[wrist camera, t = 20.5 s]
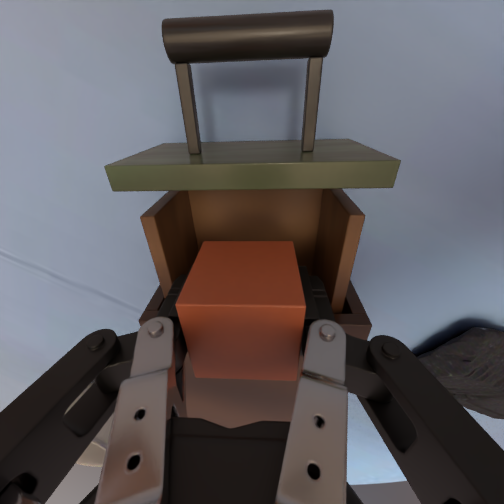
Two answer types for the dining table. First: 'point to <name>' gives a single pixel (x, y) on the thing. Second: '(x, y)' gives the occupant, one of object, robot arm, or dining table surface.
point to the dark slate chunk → (472, 369)
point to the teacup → (95, 442)
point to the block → (243, 311)
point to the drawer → (254, 161)
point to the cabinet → (249, 390)
